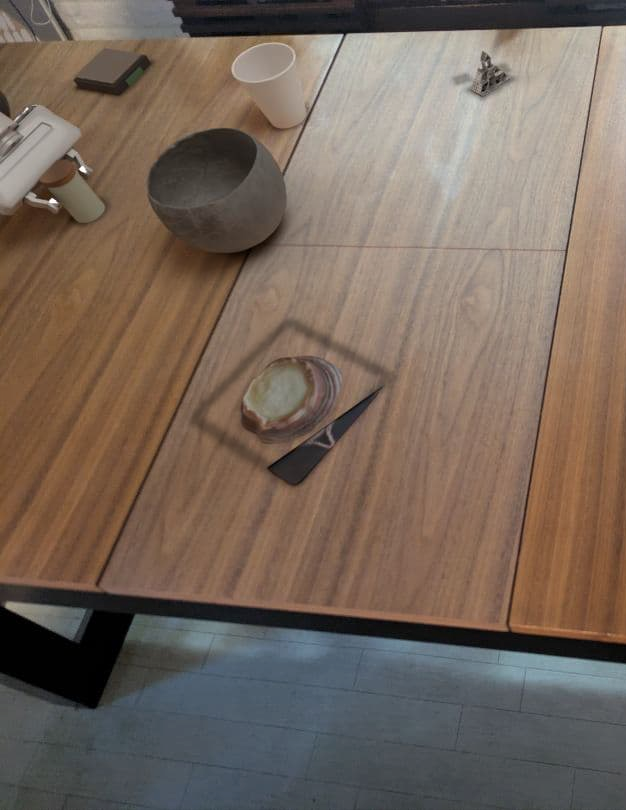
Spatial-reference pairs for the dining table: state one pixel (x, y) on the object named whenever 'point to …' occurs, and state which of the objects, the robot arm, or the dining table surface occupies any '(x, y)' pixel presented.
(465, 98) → the dining table surface
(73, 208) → the jar
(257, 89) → the cup
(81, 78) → the scale
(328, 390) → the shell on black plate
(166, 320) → the dining table surface
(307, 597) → the dining table surface
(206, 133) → the bowl
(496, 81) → the stone castle ruin model
